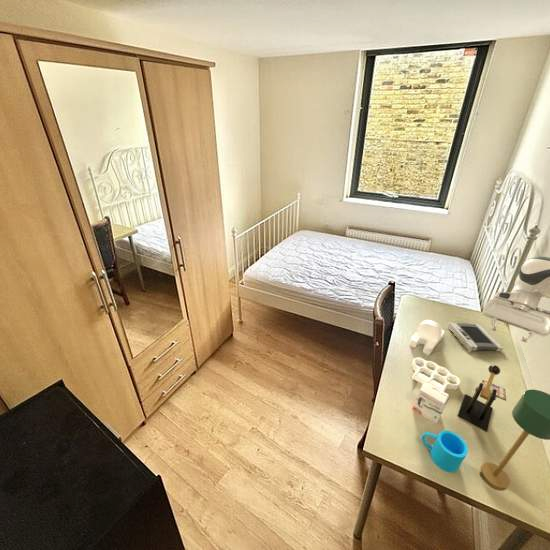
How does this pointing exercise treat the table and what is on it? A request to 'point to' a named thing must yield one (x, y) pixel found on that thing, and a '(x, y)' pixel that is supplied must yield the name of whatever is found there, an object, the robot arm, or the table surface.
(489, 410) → the switch bracket
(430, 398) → the ink box
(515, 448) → the desk lamp
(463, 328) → the alarm clock
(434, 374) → the white brass knuckles
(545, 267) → the robot arm
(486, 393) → the switch lever
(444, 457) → the mug
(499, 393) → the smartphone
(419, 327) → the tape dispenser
